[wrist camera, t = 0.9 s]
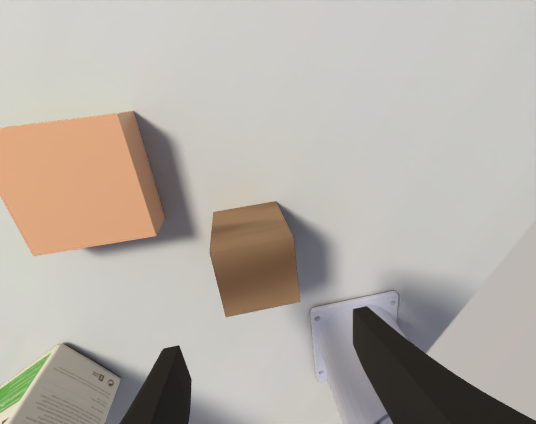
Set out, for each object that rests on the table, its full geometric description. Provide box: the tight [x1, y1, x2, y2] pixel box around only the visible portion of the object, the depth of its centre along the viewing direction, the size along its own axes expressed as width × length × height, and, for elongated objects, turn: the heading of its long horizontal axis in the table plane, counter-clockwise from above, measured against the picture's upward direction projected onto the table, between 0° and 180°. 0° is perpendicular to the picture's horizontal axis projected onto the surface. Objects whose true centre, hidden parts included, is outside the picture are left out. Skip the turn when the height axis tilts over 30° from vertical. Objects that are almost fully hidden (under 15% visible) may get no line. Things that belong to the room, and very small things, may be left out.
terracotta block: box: [0, 111, 165, 256], centre depth 16 cm, size 7×7×3 cm
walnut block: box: [210, 201, 300, 317], centre depth 18 cm, size 4×4×6 cm
